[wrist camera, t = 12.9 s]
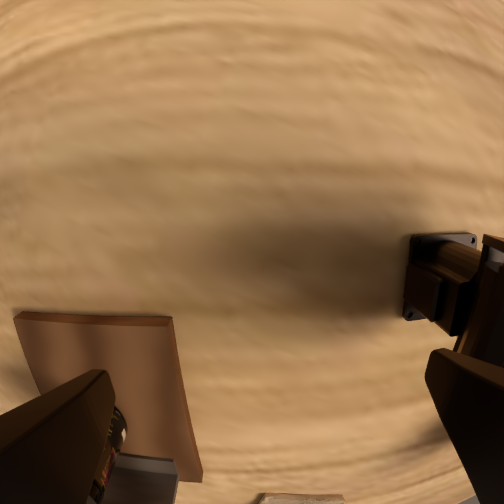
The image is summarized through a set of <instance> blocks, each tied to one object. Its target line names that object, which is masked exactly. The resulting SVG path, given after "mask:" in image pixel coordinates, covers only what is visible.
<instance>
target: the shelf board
mask: <svg viewBox="0 0 504 504" xmlns="http://www.w3.org/2000/svg"><path fill="white" fill-rule="evenodd" d="M13 320H14V324H15V327H16V330H17V333H18V336H19V339H20V342H21V345H22V348H23V351H24V354H25V357H26V359H27V362H28V365H29V367H30V370H31V372H32V375H33V377H34V380H35V382H36V385H37V387H38V389H39V391H40V394H41V395H42V394H44V393H46V392H48V391H50V390H52V389H54V388H56V387H58V386H60V385H62V384H64V383H66V382H68V381H70V380H72V379H74V378H76V377H78V376H80V375H82V374H83V373H85V372H87V371H89V370H91V369H94V368H95V369H105V370H106V371H108V373H109V375H110V378H111V382H112V385H113V388H114V391H115V395H116V400H115V406H116V407H117V408H118V409H119V410H120V412H121V413H122V414H123V416H124V418H125V420H126V422H127V427H128V432H127V435H126V438H125V440H124V443H123V445H122V448H121V450H120V453H119V456H118V458H117V461H116V463H115V466H114V468H113V471H112V474H111V476H110V479H109V482H108V484H107V487H106V490H105V492H104V497H103V499H102V502H101V504H174V503H175V497H176V492H177V486H178V481H183V482H198V483H202V477H203V470H202V466H201V462H200V458H199V454H198V450H197V446H196V441H195V437H194V433H193V428H192V424H191V419H190V415H189V410H188V405H187V401H186V396H185V390H184V385H183V380H182V375H181V369H180V364H179V358H178V352H177V346H176V340H175V333H174V327H173V320H172V317H120V316H89V315H68V314H51V313H36V312H23V311H22V312H21V313H20V314H18V315H17V316H15V317H14V318H13Z"/></svg>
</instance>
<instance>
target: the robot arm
mask: <svg viewBox="0 0 504 504" xmlns="http://www.w3.org/2000/svg"><path fill="white" fill-rule="evenodd" d="M417 239H419V242H418V244H417V245H416V240H417ZM471 239H472V242H471ZM482 243H483V248H482V251H479V250H477V249H476V247H477V236H476V235H475V234H471V233H457V234H416V235H413V236H412V238H411V240H410V251H409V263H408V265H407V269H406V279H405V288H404V296H403V298H404V306H403V313H402V316H403V318H404V319H405V320H407V321H413V320H420V319H426V318H427V319H428V320H429V321H430V322H434V323H435V324H437V325H438V326H439V327H440V328H441V329H442V330H444V331H445V332H446V333H447V334H448V335H449V336H451V337H453V336H457V340H456V343H455V346H454V348H453V351H452V350H449V349H446V348H441V349H437V350H433V351H432V352H431V354H430V356H429V360H428V364H427V368H426V371H425V382H426V384H427V387H428V389H429V392H430V394H431V397H432V399H433V402H434V404H435V407H436V409H437V412H438V414H439V417H440V419H441V421H442V423H443V426H444V428H445V430H446V431H447V433H448V435H449V437H450V439H451V441H452V443H453V445H454V447H455V450H456V452H457V454H458V456H459V458H460V460H461V462H462V464H463V466H464V468H465V471H466V473H467V475H468V477H469V479H470V482H471V484H472V486H473V488H474V491H475V493H476V495H477V498H478V500H479V502H480V504H504V238H500V237H496V236H491V235H487V234H483V240H482ZM409 312H411V313H410V315H409V316H407V315H408V313H409ZM115 400H116V395H115V391H114V388H113V385H112V382H111V378H110V375H109V373H108V371H106V370H105V369H95V368H94V369H91V370H89V371H87V372H85V373H83V374H82V375H80V376H78V377H76V378H74V379H72V380H70V381H68V382H66V383H64V384H62V385H60V386H58V387H56V388H54V389H52V390H50V391H48V392H46V393H44V394H42V395H40V396H38V397H36V398H34V399H32V400H30V401H28V402H26V403H24V404H22V405H20V406H18V407H16V408H14V409H12V410H10V411H8V412H6V413H4V414H2V415H0V504H86V503H87V499H88V496H89V493H90V490H91V487H92V483H93V480H94V477H95V474H96V471H97V468H98V465H99V462H100V459H101V456H102V453H103V450H104V447H105V444H106V440H107V436H108V431H109V426H110V422H111V418H112V413H113V409H114V405H115Z"/></svg>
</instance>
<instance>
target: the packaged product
mask: <svg viewBox="0 0 504 504" xmlns="http://www.w3.org/2000/svg"><path fill="white" fill-rule="evenodd" d="M344 502H345V499H344V498H343V496H342V495H301V494H281V493H265V494H264V496H263V497H262V498H261V499H260V501H259V503H258V504H343V503H344Z"/></svg>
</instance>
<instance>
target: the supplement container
mask: <svg viewBox="0 0 504 504" xmlns="http://www.w3.org/2000/svg"><path fill="white" fill-rule="evenodd" d="M127 432H128V427H127V422H126V420H125V418H124V416H123V414H122V413H121V412H120V410H119V409H118V408H117V407H116V406H115V405H114V409H113V413H112V418H111V422H110V426H109V431H108V436H107V440H106V444H105V447H104V450H103V453H102V456H101V459H100V462H99V465H98V468H97V471H96V474H95V477H94V480H93V483H92V487H91V490H90V493H89V496H88V499H87V503H86V504H101V502H102V499H103V497H104V492H105V490H106V487H107V484H108V482H109V479H110V476H111V474H112V471H113V468H114V466H115V463H116V461H117V458H118V456H119V453H120V450H121V448H122V445H123V443H124V440H125V438H126V435H127Z"/></svg>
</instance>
